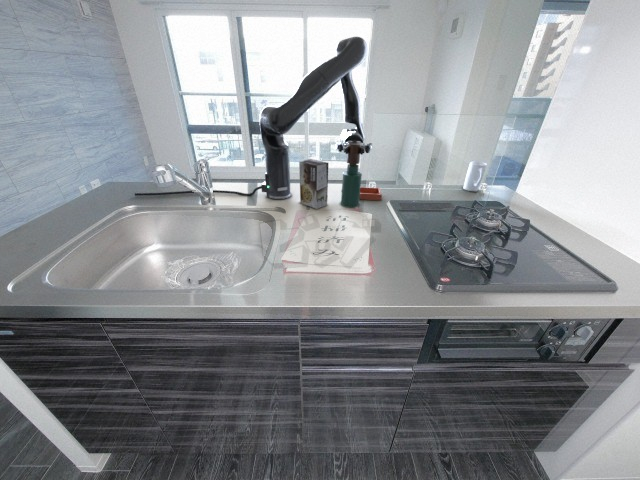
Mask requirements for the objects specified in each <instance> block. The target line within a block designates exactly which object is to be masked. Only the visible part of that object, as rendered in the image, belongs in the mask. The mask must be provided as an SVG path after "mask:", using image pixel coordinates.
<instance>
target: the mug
mask: <svg viewBox="0 0 640 480" xmlns="http://www.w3.org/2000/svg"><path fill="white" fill-rule="evenodd" d="M487 167H488V163H487V162H483V161H477V160H476V161H473V160H472V161H470V163H469V166H468V169H467V172H466V176H465V180H464V184H463V187H462V188H463V190H465V191H468V192H478V191H479V189H480V186H481V184H482V181H483V178H484V175H485V173H486V169H487Z"/></svg>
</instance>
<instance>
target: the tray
mask: <svg viewBox="0 0 640 480" xmlns="http://www.w3.org/2000/svg"><path fill="white" fill-rule="evenodd" d="M359 200H365V201H366V200H367V201H369V200H370V201H381V200H382V192H381V188H380V187H367V186H366V187H365V186H360V196H359Z"/></svg>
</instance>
